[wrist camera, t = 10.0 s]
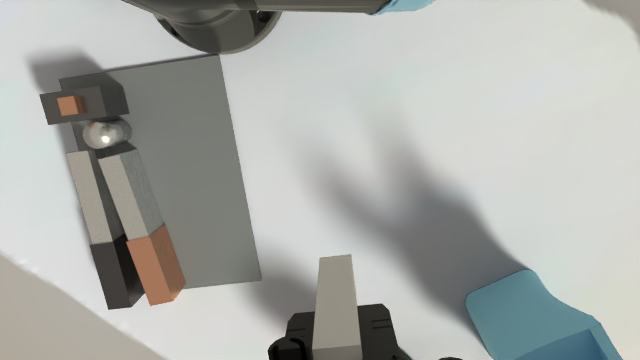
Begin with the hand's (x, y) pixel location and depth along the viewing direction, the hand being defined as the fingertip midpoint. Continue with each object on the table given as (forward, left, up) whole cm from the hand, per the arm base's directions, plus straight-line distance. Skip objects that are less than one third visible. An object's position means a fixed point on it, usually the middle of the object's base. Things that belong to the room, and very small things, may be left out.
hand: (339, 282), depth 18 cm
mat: (-1, -21, -28) cm, 35 cm away
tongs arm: (+2, -24, -28) cm, 37 cm away
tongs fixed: (0, -27, -28) cm, 39 cm away
